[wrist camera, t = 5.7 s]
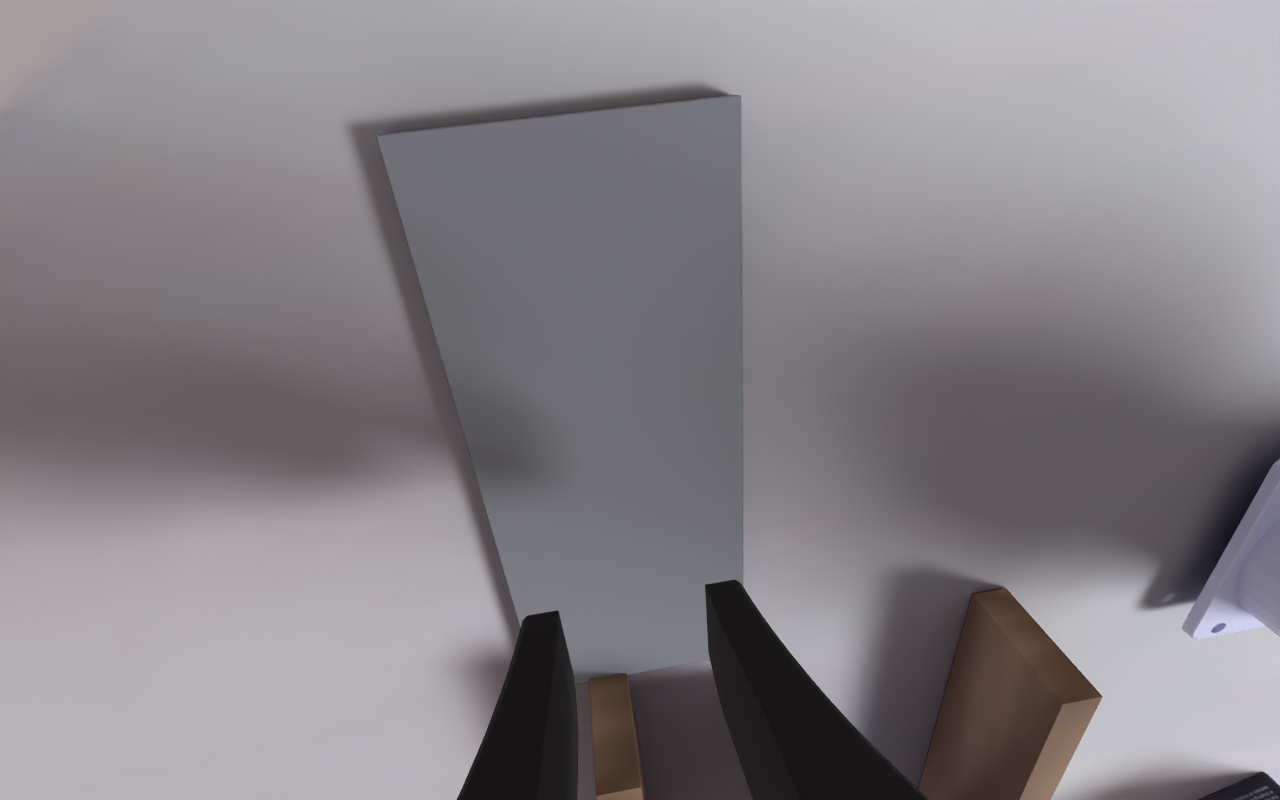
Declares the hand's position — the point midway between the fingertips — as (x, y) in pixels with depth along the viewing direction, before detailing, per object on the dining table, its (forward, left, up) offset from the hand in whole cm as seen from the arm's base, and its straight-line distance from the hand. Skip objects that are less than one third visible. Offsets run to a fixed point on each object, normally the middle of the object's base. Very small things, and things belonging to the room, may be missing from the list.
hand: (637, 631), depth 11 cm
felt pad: (0, -1, -5) cm, 5 cm away
